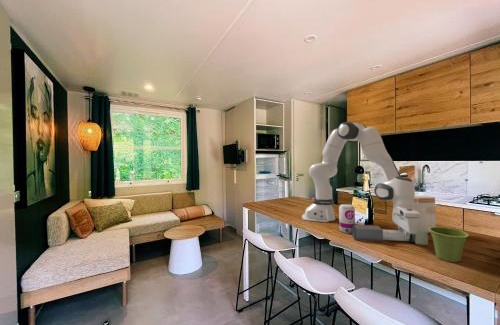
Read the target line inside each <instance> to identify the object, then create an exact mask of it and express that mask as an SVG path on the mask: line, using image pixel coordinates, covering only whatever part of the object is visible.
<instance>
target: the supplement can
mask: <svg viewBox="0 0 500 325" xmlns="http://www.w3.org/2000/svg"><path fill="white" fill-rule="evenodd" d="M355 212H356V209H355V206H354V205H353V204H348V203H341V204H340V205H339V206H338V222H339V223H338V225H339V226H338V228H339V230H340V232H341V233H343V234H352V225H356V213H355Z"/></svg>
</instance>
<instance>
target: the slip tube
mask: <svg viewBox="0 0 500 325" xmlns="http://www.w3.org/2000/svg"><path fill="white" fill-rule="evenodd" d="M381 229H382V230H383V241H398V242H409V243H415V234H410V239H405V238H404V235H405V230H399V229H383V228H381Z"/></svg>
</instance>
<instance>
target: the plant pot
mask: <svg viewBox="0 0 500 325" xmlns="http://www.w3.org/2000/svg"><path fill="white" fill-rule="evenodd" d="M429 230H430V231H431V233H430V235H431V236H432V242H433V246H434V251H435V252H434V253H435V256H436V257H437V258H438V259H441V260H443V261H446V262H450V263H458V262H460V261H461V259H462V258H461V257H462V254H463V250H464V245H465V243H466V241H467V238H468V237H469V234H468V233H467V232H465V231H463V230H459V229H455V228H452V227H451V228H450V227H444V226H443V227H442V226H436V227H430V228H429Z"/></svg>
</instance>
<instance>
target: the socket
mask: <svg viewBox="0 0 500 325" xmlns="http://www.w3.org/2000/svg"><path fill="white" fill-rule="evenodd" d="M414 244H415V245H427V246H428V245H429V233H428V231H426V230H425V229H423V228H421V227H420V226H419V233H418V234H415V242H414Z"/></svg>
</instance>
